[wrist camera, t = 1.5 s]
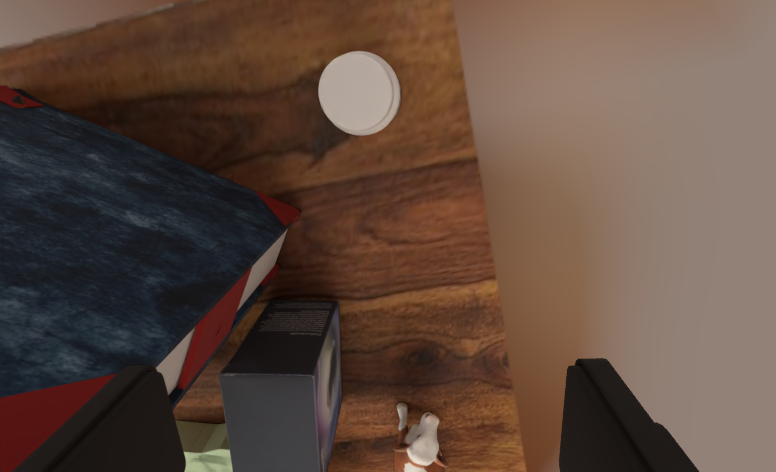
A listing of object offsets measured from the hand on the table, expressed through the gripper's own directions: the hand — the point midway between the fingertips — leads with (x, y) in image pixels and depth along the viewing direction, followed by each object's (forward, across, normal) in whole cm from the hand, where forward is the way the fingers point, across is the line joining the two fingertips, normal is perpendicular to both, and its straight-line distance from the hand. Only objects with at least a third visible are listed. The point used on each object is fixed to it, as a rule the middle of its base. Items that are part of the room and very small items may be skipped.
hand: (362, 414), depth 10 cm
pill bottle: (+24, +2, -7) cm, 25 cm away
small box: (+24, +9, +14) cm, 29 cm away
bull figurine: (+24, -1, +23) cm, 33 cm away
